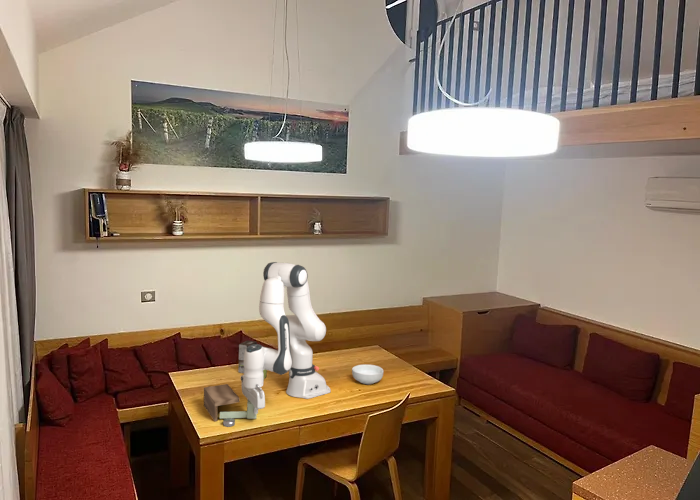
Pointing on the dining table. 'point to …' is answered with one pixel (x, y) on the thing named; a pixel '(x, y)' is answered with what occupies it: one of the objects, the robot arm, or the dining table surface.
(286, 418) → the dining table surface
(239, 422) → the dining table surface
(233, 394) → the walnut shelf
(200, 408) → the dining table surface
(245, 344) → the coffee box
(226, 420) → the steel puck
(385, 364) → the dining table surface
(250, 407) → the sage paddle
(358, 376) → the cereal bowl
